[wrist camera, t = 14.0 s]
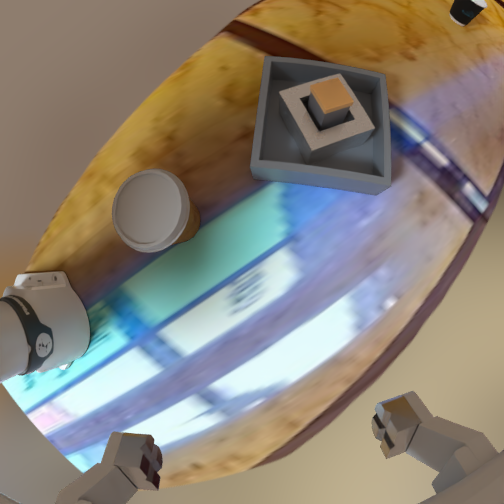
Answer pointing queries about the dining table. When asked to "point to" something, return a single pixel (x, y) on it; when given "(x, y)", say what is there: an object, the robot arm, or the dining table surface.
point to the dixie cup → (466, 10)
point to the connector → (328, 103)
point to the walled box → (337, 166)
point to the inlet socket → (328, 140)
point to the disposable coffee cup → (154, 211)
